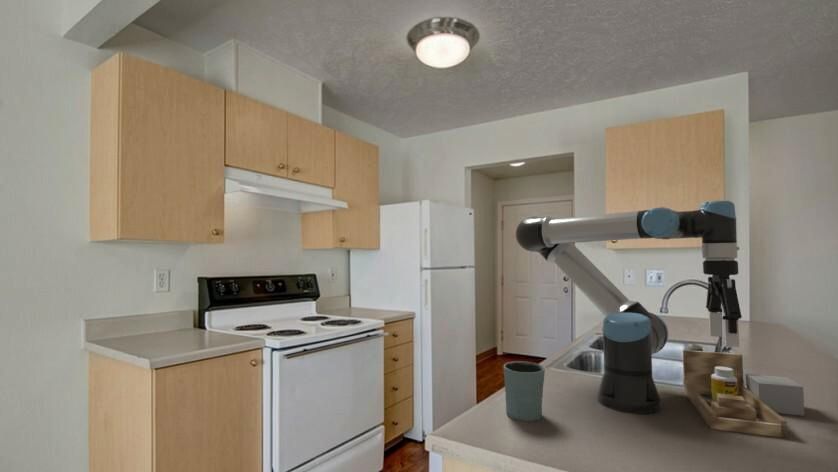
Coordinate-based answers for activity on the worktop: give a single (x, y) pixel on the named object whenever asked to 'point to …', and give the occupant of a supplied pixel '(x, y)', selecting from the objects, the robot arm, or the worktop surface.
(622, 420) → the worktop surface
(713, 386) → the supplement bottle
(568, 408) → the worktop surface
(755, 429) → the light wood open box
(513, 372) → the grey-green cup
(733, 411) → the offcut slab top
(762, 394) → the stone plinth
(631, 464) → the worktop surface
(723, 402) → the offcut block
